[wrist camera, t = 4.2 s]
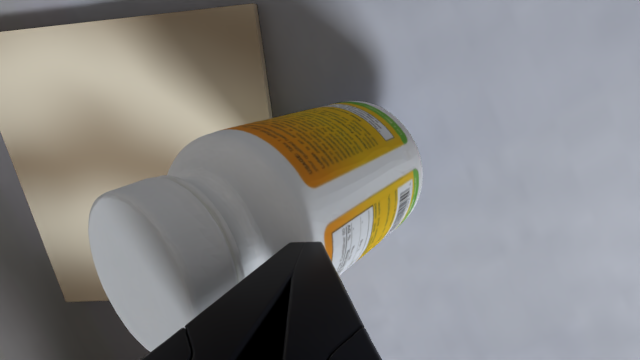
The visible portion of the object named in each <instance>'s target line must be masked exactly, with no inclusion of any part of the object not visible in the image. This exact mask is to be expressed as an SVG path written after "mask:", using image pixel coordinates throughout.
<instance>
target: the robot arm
mask: <svg viewBox="0 0 640 360" xmlns="http://www.w3.org/2000/svg"><path fill="white" fill-rule="evenodd" d="M140 360H382V359H381V357H380V355H379V353H378V352H377V350H376V348H375V346H374V345H373V343H372V341H371V339H370V337H369V335H368V333H367V331H366V329H365V328H364V325H363V323H362V321H361V319H360V317H359V315H358V313H357V311H356V309H355V307H354V305H353V303H352V301H351V299H350V297H349V295H348V293H347V291H346V289H345V287H344V285H343V283H342V281H341V279H340V277H339V275H338V273H337V271H336V269H335V267H334V265H333V263H332V261H331V259H330V257H329V255H328V253H327V251H326V249H325V247H324V245H323V243H322V242H319V241H317V242H290V243H288V244H287V245H286V246H284V247H283V248H282V249H280V250H279V251H278V252H277V253H275V254H274V255H273V256H272V257H270V258H269V259H268V260H267V261H265V262H264V263H263V264H262V265H260V266H259V267H258V268H257V269H255V270H254V271H253V272H252V273H250V274H249V275H248V276H247V277H245V278H244V279H243V280H241V281H240V282H239V283H238V284H236V285H235V286H234V287H233V288H231V289H230V290H229V291H228V292H226V293H225V294H224V295H223V296H221V297H220V298H219V299H218V300H216V301H215V302H214V303H213V304H211V305H210V306H209V307H207V308H206V309H205V310H204V311H202V312H201V313H200V314H199V315H197V316H196V317H195V318H194V319H192V320H191V321H190V322H189V323H187V324H186V325H185V328H181V329H180V330H178V331H177V332H176V333H175V334H173V335H172V336H171V337H170V338H168V339H167V340H166V341H164V342H163V343H162V344H160V345H159V346H158V347H156V348H155V349H154V350H153V351H151V352H150V353H149V354H147V355H146V356H145V357H143V358H142V359H140Z"/></svg>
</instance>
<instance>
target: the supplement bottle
mask: <svg viewBox="0 0 640 360" xmlns="http://www.w3.org/2000/svg"><path fill="white" fill-rule="evenodd" d="M422 181H423V169H422V162H421V157H420V154H419V151H418V148H417V146H416V144H415V142H414V140H413V138H412V136H411V135H410V133H409V132H408V130H407V129H406V128H405V126H404V125H403V124H402V123H401V122H400V121H399V120H398V119H397V118H396V117H395V116H393V115H392V114H391V113H389V112H388V111H386V110H385V109H383V108H381V107H379V106H377V105H374V104H372V103H368V102H362V101H346V102H339V103H335V104H330V105H326V106H322V107H318V108H313V109H309V110H305V111H300V112H296V113H292V114H288V115H283V116H279V117H275V118H271V119H266V120H262V121H257V122H252V123H247V124H244V125H239V126H236V127H231V128H227V129H223V130H219V131H216V132H213V133H210V134H207V135H204V136H202V137H199V138H197V139H195V140H194V141H192V142H190V143H189V144H188V145H187V146H185V147H184V148H183V149H182V150H181V151H180V153H179V154H178V155H177V157H176V158H175V160H174V161H173V163H172V165H171V167H170V169H169V171H168V174H167V175H162V176H158V177H152V178H147V179H144V180H141V181H138V182H135V183H132V184H129V185H126V186H123V187H120V188H117V189H114V190H111V191H108V192H106V193H104V194H102V195H101V196H99V197H98V198H97V199H96V200H95V201H94V203H93V205H92V207H91V210H90V214H89V221H88V235H89V242H90V248H91V253H92V257H93V261H94V264H95V267H96V270H97V274H98V276H99V279H100V281H101V284H102V286H103V289H104V291H105V293H106V295H107V297H108V299H109V300H110V302H111V304H112V306H113V308H114V309H115V311H116V313H117V314H118V316H119V317H120V319H121V320H122V322H123V323H124V325H125V326H126V327H127V329H128V330H129V332H130V333H131V334H132V335H133V336H134V337H135V338H136V339H137V340H138V342H139V343H141V344H142V345H143V346H144V347H145V348H146V349H147V350H148V351H150V352H151V351H153V350H154V349H155V348H156V347H158V346H159V345H160V344H162V343H163V342H164V341H166V340H167V339H168V338H170V337H171V336H172V335H173V334H175V333H176V332H177V331H178V330H180V329H181V328H185V325H186V324H187V323H189V322H190V321H191V320H192V319H194V318H195V317H196V316H197V315H199V314H200V313H201V312H202V311H204V310H205V309H206V308H207V307H209V306H210V305H211V304H213V303H214V302H215V301H216V300H218V299H219V298H220V297H221V296H223V295H224V294H225V293H226V292H228V291H229V290H230V289H231V288H233V287H234V286H235V285H236V284H238V283H239V282H240V281H241V280H243V279H244V278H245V277H247V276H248V275H249V274H250V273H252V272H253V271H254V270H255V269H257V268H258V267H259V266H260V265H262V264H263V263H264V262H265V261H267V260H268V259H269V258H270V257H272V256H273V255H274V254H275V253H277V252H278V251H279V250H280V249H282V248H283V247H284V246H286V245H287V244H288V243H290V242H317V241H319V242H322V243H323V245H324V247H325V249H326V251H327V253H328V255H329V257H330V259H331V261H332V263H333V265H334V267H335V269H336V271H337V273H338V275H341V274H342V273H343V272H344V271H345V270H347V269H348V268H349V267H350V266H351V265H353V264H354V263H355V262H356V261H358V260H359V259H360V258H361V257H362V256H364V255H365V254H366V253H367V252H368V251H369V250H371V249H372V248H373V247H374V246H375V245H377V244H378V243H379V242H380V241H381V240H383V239H384V238H385V237H386V236H387V235H388V234H390V233H391V232H392V231H393V230H395V229H396V228H397V227H398V226H399V225H400V224H401V223H402V222H403V221H404V220H405V219H406V218H407V217H408V216H409V215H410V213H411V212H412V211H413V209H414V207H415V206H416V204H417V201H418V199H419V196H420V193H421V189H422Z"/></svg>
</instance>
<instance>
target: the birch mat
mask: <svg viewBox="0 0 640 360" xmlns="http://www.w3.org/2000/svg"><path fill="white" fill-rule="evenodd" d="M271 118H273V117H272V110H271V102H270V95H269V88H268V81H267V74H266V67H265V59H264V52H263V45H262V38H261V31H260V23H259V16H258V9H257V4H254V3H252V4H243V5H234V6H225V7H217V8H208V9H199V10H190V11H181V12H172V13H163V14H154V15H146V16H137V17H128V18H119V19H110V20H101V21H92V22H84V23H75V24H66V25H57V26H48V27H39V28H30V29H22V30H13V31H4V32H0V132H1V134H2V137H3V139H4V142H5V145H6V147H7V150H8V152H9V155H10V158H11V160H12V163H13V165H14V168H15V171H16V173H17V176H18V178H19V181H20V184H21V186H22V189H23V191H24V194H25V197H26V199H27V202H28V205H29V207H30V210H31V212H32V215H33V218H34V220H35V223H36V225H37V228H38V231H39V233H40V236H41V238H42V241H43V244H44V246H45V249H46V251H47V254H48V257H49V259H50V262H51V264H52V267H53V270H54V272H55V275H56V277H57V280H58V283H59V285H60V288H61V290H62V293H63V296H64V298H65V301H66V302H82V301H110V300H109V299H108V297H107V295H106V293H105V291H104V289H103V286H102V284H101V281H100V279H99V276H98V274H97V270H96V267H95V264H94V261H93V257H92V253H91V248H90V242H89V235H88V221H89V214H90V210H91V207H92V205H93V203H94V201H95V200H96V199H97V198H98V197H99V196H101V195H102V194H104V193H106V192H108V191H111V190H114V189H117V188H120V187H123V186H126V185H129V184H132V183H135V182H138V181H141V180H144V179H147V178H152V177H158V176H162V175H167V174H168V171H169V169H170V167H171V165H172V163H173V161H174V160H175V158H176V157H177V155H178V154H179V153H180V151H181V150H182V149H183V148H184V147H185V146H187V145H188V144H189V143H190V142H192V141H194V140H195V139H197V138H199V137H202V136H204V135H207V134H210V133H213V132H216V131H219V130H223V129H227V128H231V127H236V126H239V125H244V124H247V123H252V122H257V121H262V120H266V119H271Z"/></svg>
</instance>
